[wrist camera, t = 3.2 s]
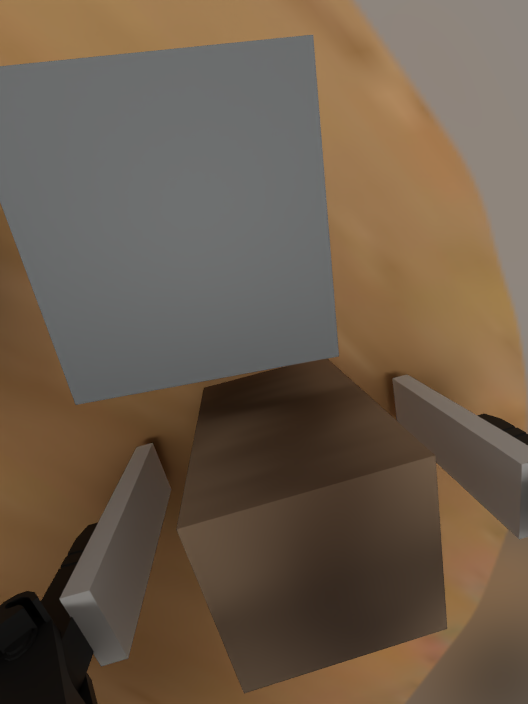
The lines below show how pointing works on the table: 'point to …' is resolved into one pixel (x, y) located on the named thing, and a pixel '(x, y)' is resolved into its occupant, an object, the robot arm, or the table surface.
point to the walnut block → (310, 523)
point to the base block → (171, 212)
